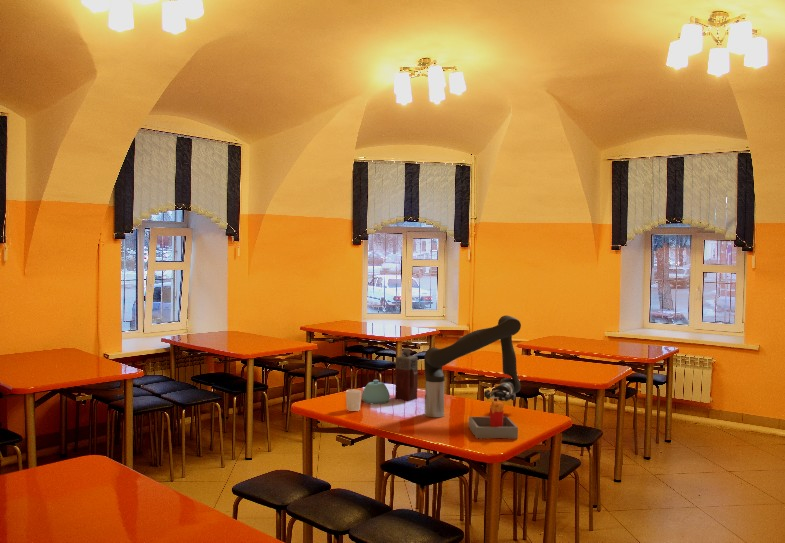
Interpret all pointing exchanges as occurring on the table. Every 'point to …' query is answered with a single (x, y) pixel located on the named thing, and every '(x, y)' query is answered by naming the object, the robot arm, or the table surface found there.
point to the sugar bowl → (375, 393)
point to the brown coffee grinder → (406, 376)
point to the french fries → (496, 414)
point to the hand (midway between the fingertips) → (496, 398)
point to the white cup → (353, 399)
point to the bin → (492, 428)
